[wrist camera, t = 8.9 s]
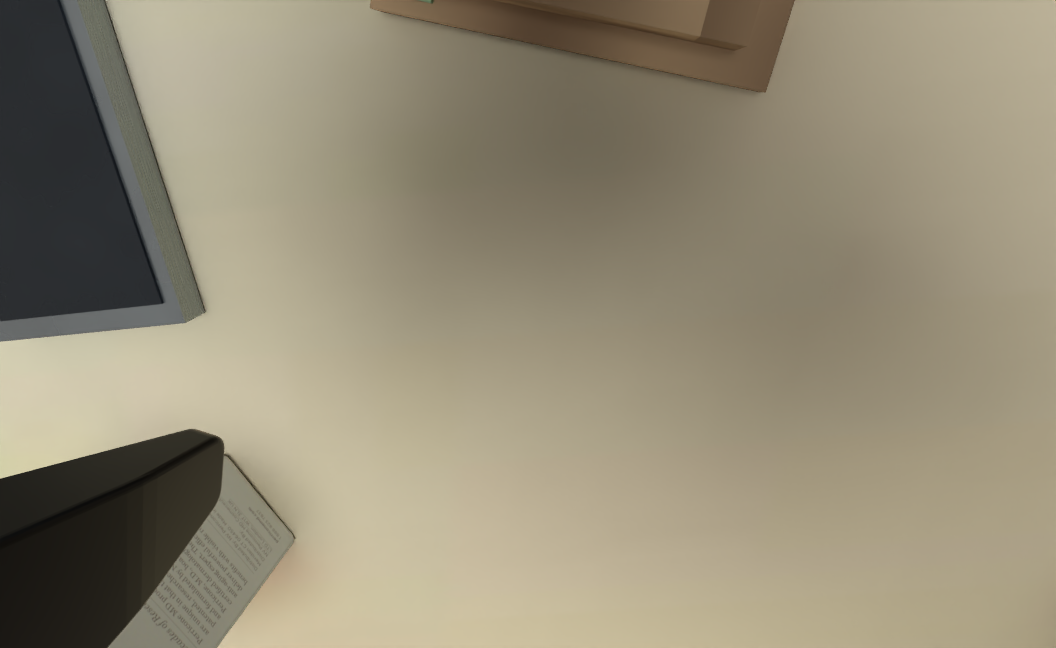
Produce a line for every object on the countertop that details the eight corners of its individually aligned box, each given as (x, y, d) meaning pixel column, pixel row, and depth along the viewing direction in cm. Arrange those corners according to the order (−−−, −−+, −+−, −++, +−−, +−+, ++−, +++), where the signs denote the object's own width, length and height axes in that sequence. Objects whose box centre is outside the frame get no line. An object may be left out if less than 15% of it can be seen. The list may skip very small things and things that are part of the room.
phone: (37, -205, 17) (-2, -223, 16) (205, 312, 21) (183, 324, 20) (-174, -143, 18) (-222, -156, 17) (26, 330, 23) (-4, 342, 22)
